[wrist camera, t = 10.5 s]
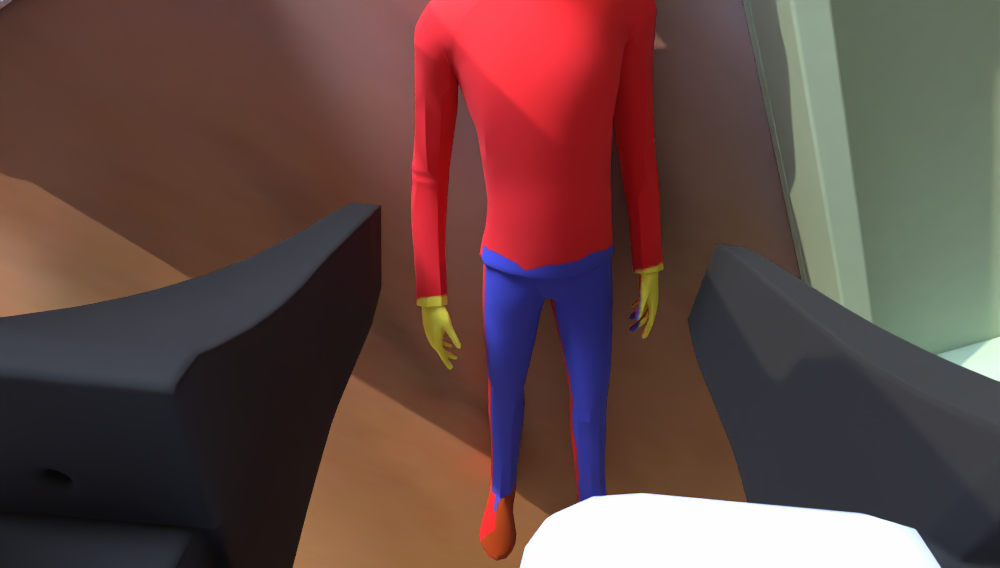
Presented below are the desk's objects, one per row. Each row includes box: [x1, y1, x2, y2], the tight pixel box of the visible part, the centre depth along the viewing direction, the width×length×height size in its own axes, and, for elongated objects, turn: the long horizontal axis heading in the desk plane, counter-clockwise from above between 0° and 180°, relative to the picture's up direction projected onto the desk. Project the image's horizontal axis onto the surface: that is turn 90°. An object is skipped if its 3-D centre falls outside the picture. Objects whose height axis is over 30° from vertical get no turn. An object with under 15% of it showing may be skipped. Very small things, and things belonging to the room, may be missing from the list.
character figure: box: [411, 0, 664, 560], centre depth 12 cm, size 6×4×20 cm
